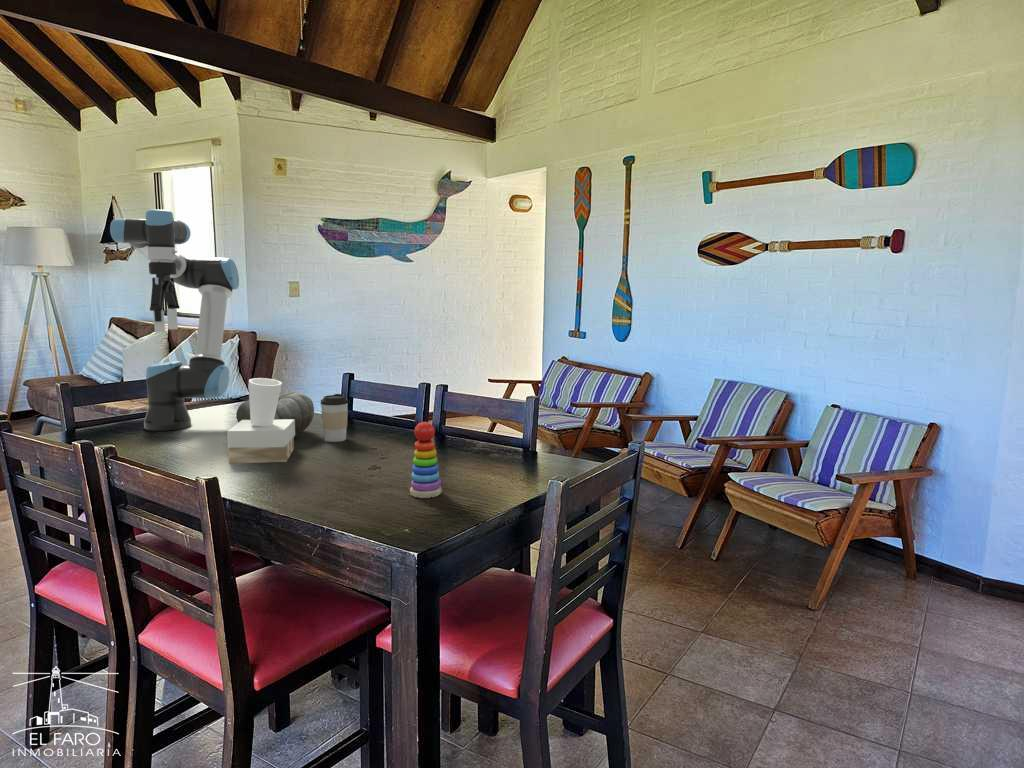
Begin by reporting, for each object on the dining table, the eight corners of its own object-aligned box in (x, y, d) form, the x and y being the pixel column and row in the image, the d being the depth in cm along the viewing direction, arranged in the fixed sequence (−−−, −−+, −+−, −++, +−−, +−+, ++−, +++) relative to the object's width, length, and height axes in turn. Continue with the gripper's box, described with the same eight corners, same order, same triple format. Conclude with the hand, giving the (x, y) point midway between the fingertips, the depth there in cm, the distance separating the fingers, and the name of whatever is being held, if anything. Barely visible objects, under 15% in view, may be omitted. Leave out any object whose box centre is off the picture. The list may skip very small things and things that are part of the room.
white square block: (242, 435, 216) (241, 419, 215) (295, 434, 217) (294, 419, 217) (228, 447, 200) (227, 431, 199) (284, 447, 202) (284, 430, 201)
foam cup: (284, 424, 210) (288, 383, 208) (263, 430, 202) (267, 387, 199) (259, 417, 213) (263, 376, 211) (238, 422, 205) (241, 380, 202)
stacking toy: (410, 489, 177) (410, 418, 175) (442, 489, 178) (441, 418, 175) (409, 499, 170) (408, 425, 167) (441, 499, 170) (441, 425, 167)
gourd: (329, 430, 232) (317, 380, 229) (256, 452, 218) (242, 400, 215) (304, 424, 252) (293, 379, 250) (235, 445, 238) (222, 396, 236)
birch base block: (241, 451, 216) (240, 436, 215) (294, 450, 218) (293, 434, 218) (229, 465, 200) (228, 448, 199) (286, 463, 203) (286, 446, 202)
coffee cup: (341, 443, 226) (340, 398, 224) (316, 441, 228) (315, 397, 225) (353, 437, 235) (352, 393, 232) (329, 435, 236) (327, 392, 234)
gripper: (163, 260, 199) (167, 334, 203) (186, 262, 224) (190, 327, 227) (135, 260, 198) (140, 334, 201) (161, 262, 222) (165, 327, 225)
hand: (166, 330), depth 214 cm, fingers open, 13 cm apart
